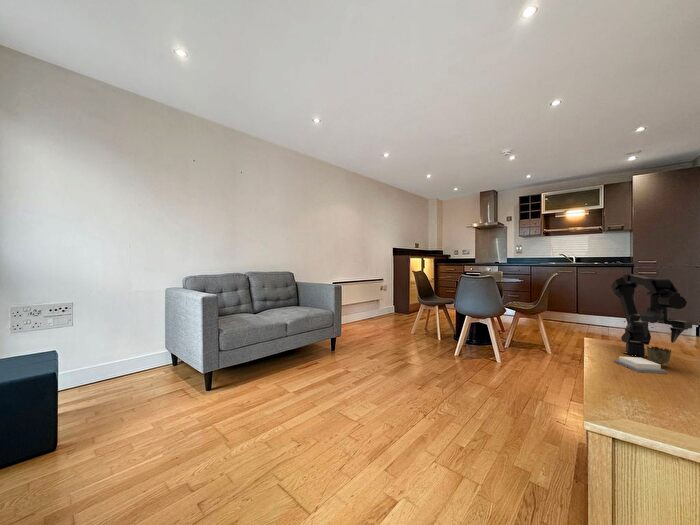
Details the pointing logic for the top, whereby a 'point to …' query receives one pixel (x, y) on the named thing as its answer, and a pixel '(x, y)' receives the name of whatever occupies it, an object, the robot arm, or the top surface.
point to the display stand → (640, 365)
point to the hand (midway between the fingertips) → (658, 339)
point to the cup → (659, 355)
